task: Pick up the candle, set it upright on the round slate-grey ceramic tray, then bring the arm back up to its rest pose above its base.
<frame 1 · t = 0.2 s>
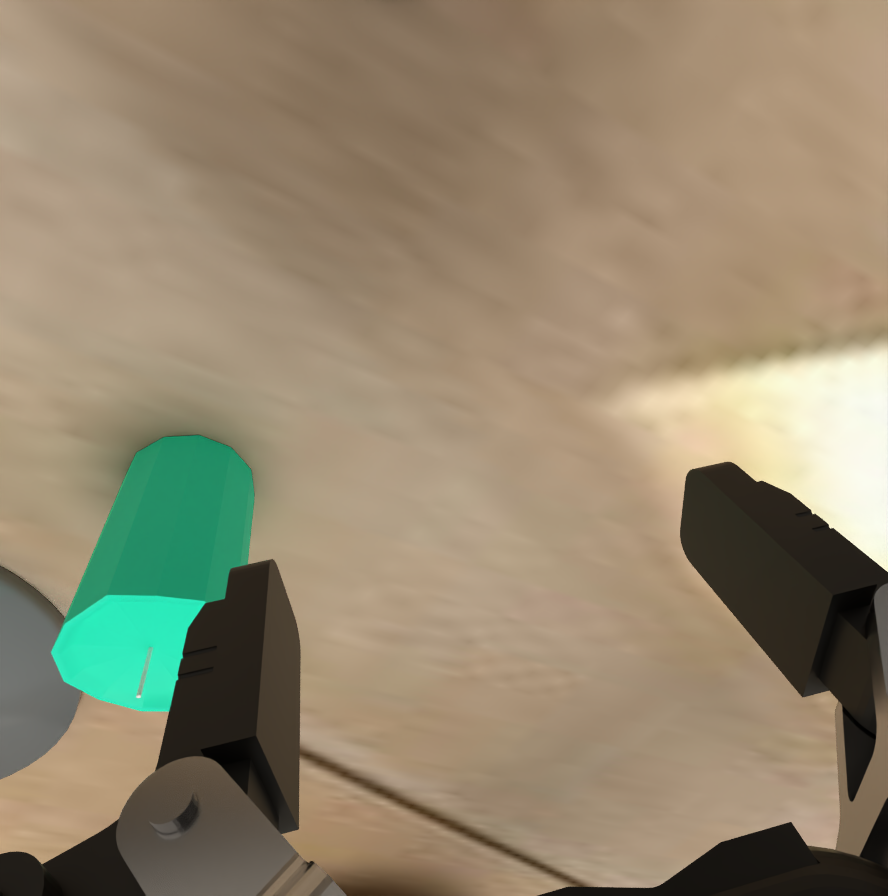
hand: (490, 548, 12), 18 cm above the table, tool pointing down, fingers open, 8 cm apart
candle: (192, 484, 30), on the table
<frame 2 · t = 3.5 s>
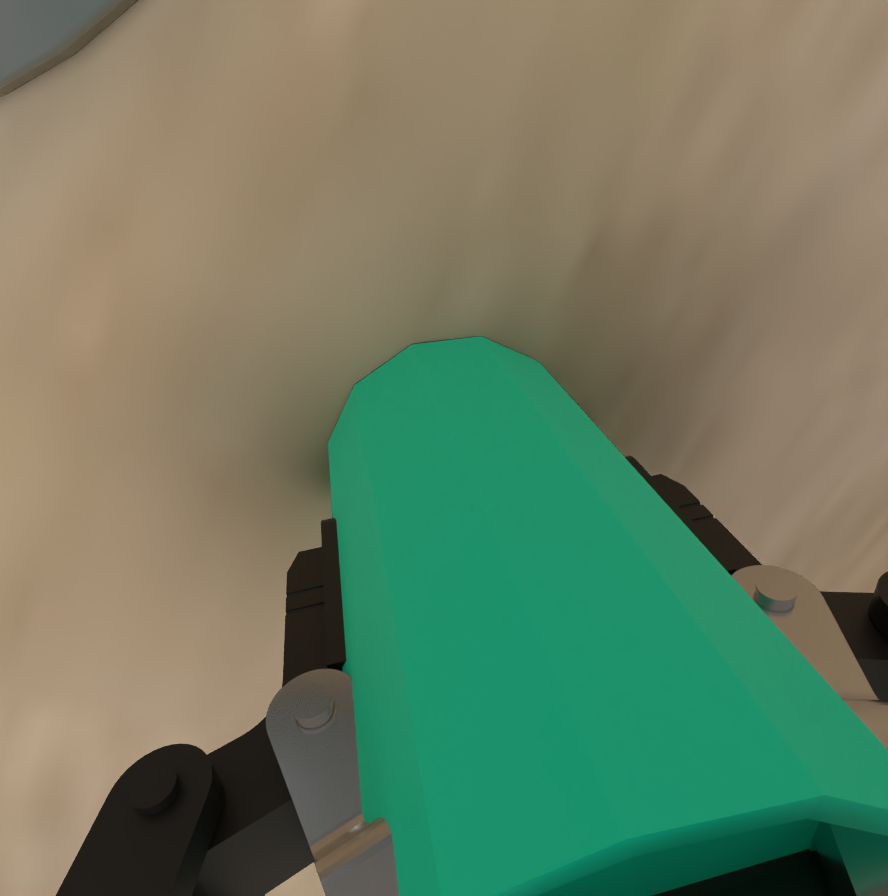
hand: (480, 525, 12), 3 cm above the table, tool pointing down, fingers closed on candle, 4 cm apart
candle: (451, 449, 15), on the table, touching gripper
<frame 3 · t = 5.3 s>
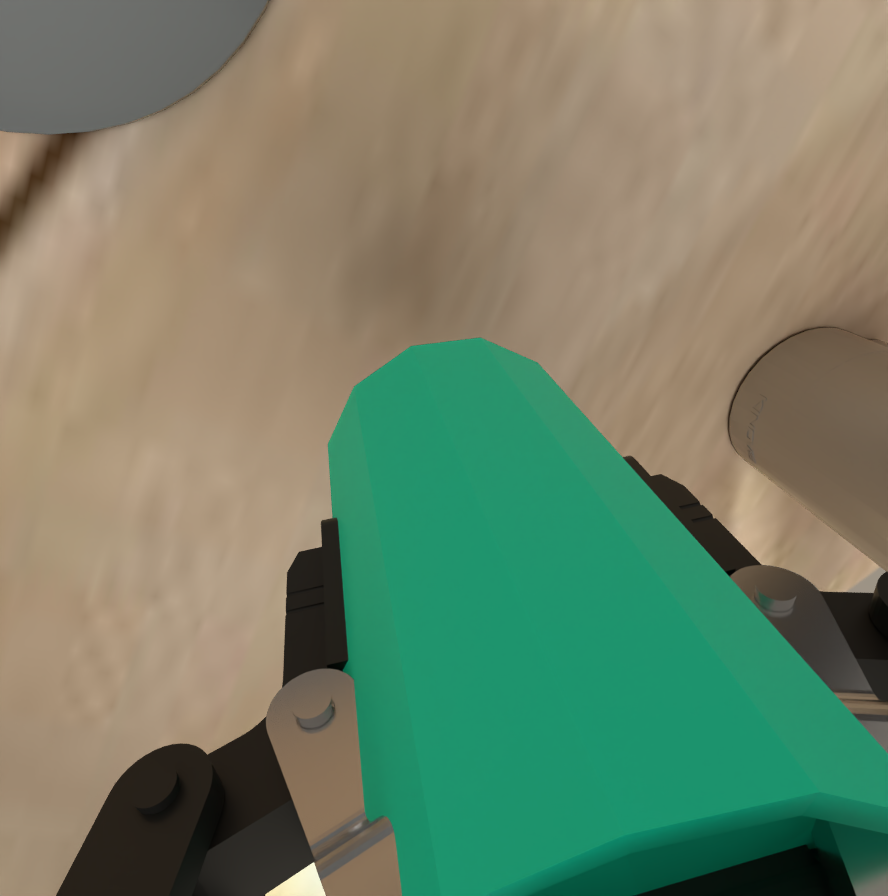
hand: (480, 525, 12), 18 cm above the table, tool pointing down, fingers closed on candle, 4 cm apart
candle: (450, 450, 15), point 15 cm above the table, touching gripper
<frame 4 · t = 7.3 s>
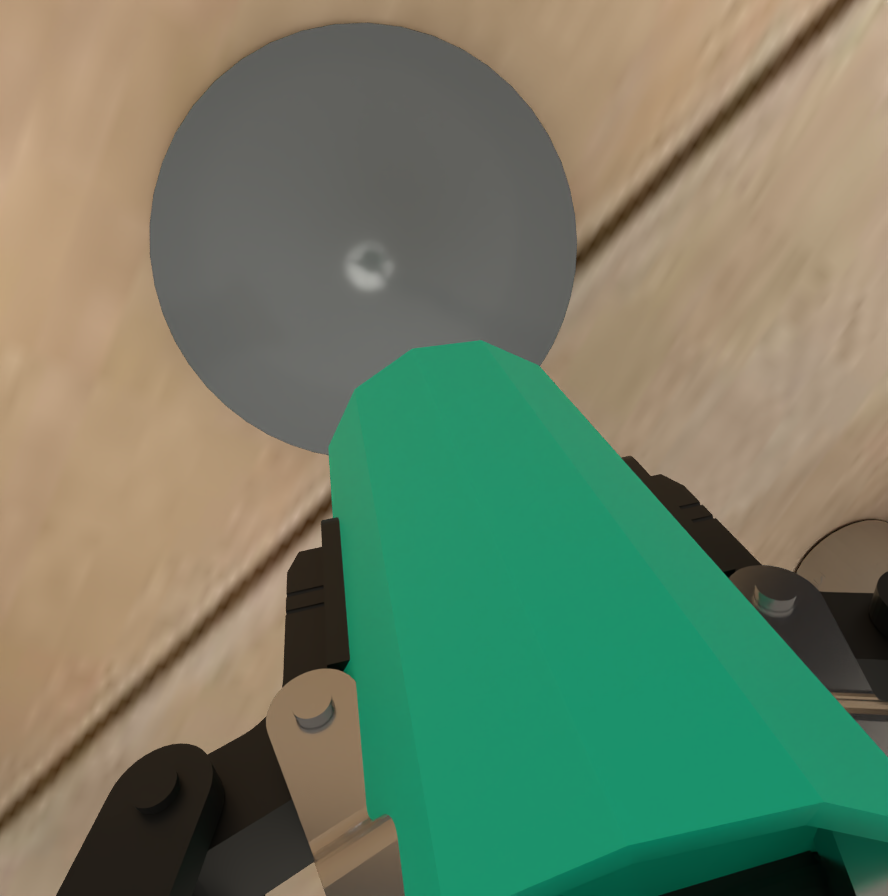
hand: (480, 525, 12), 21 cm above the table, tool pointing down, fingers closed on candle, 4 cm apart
candle tray: (375, 271, 30), on the table
candle: (451, 453, 15), point 18 cm above the table, touching gripper
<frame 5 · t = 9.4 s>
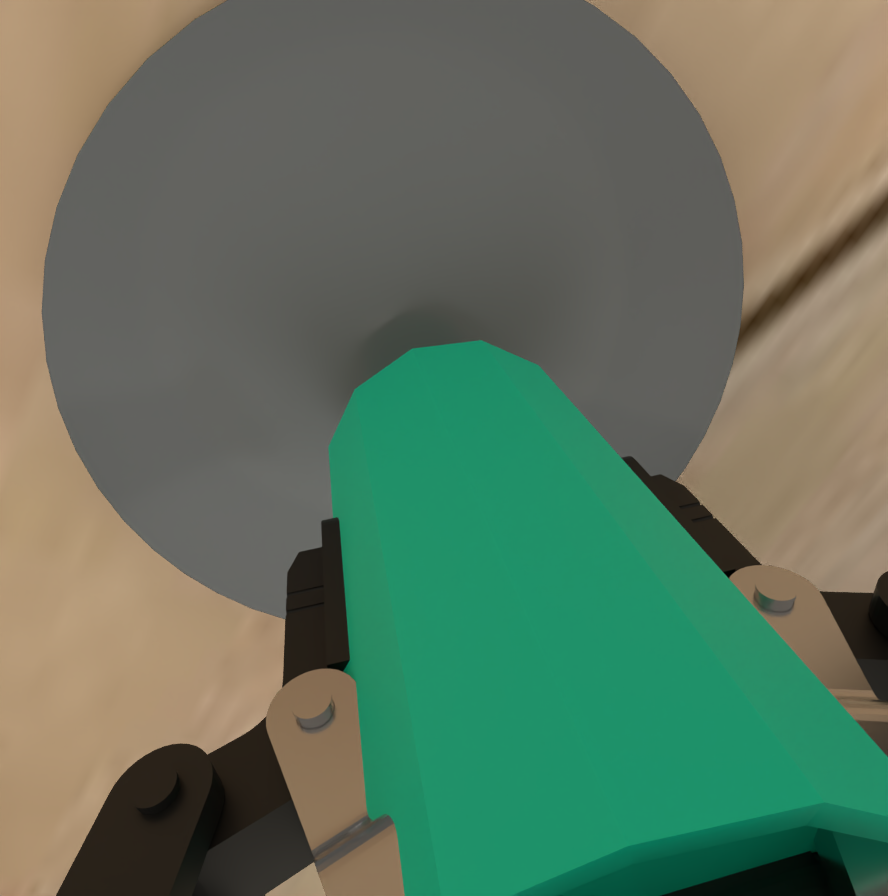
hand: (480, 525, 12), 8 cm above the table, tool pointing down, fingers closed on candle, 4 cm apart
candle tray: (421, 368, 19), on the table
candle: (451, 453, 15), point 5 cm above the table, touching gripper
when the fingers open (5 cm above the table, at t = 10.9 s): candle stays where it is, resting on candle tray.
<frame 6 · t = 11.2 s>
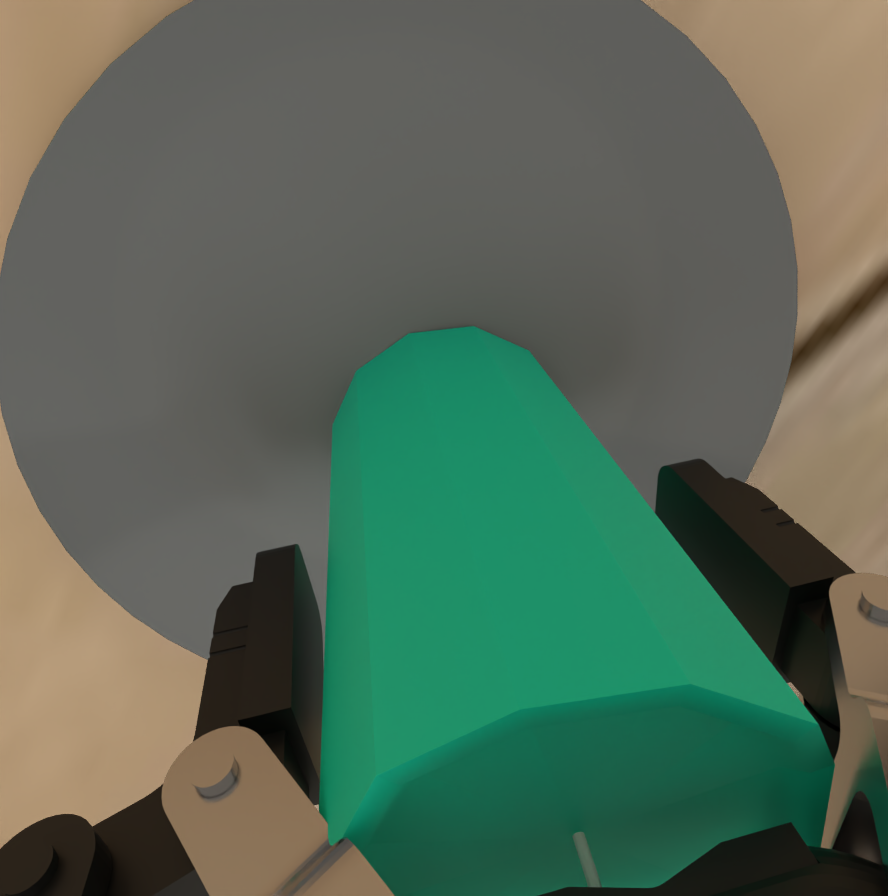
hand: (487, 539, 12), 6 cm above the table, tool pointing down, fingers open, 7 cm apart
candle tray: (433, 410, 17), on the table
candle: (448, 433, 16), point 1 cm above the table, touching candle tray
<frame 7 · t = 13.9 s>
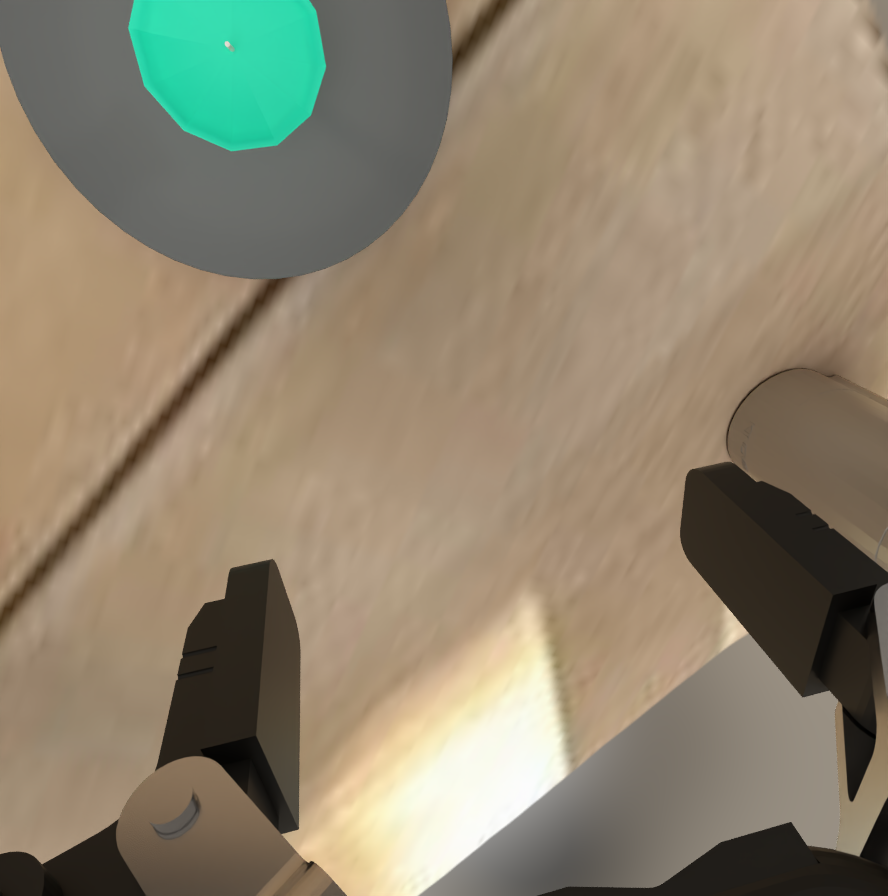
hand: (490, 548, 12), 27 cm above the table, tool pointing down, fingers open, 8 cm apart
candle tray: (244, 63, 29), on the table
candle: (248, 65, 28), point 1 cm above the table, touching candle tray
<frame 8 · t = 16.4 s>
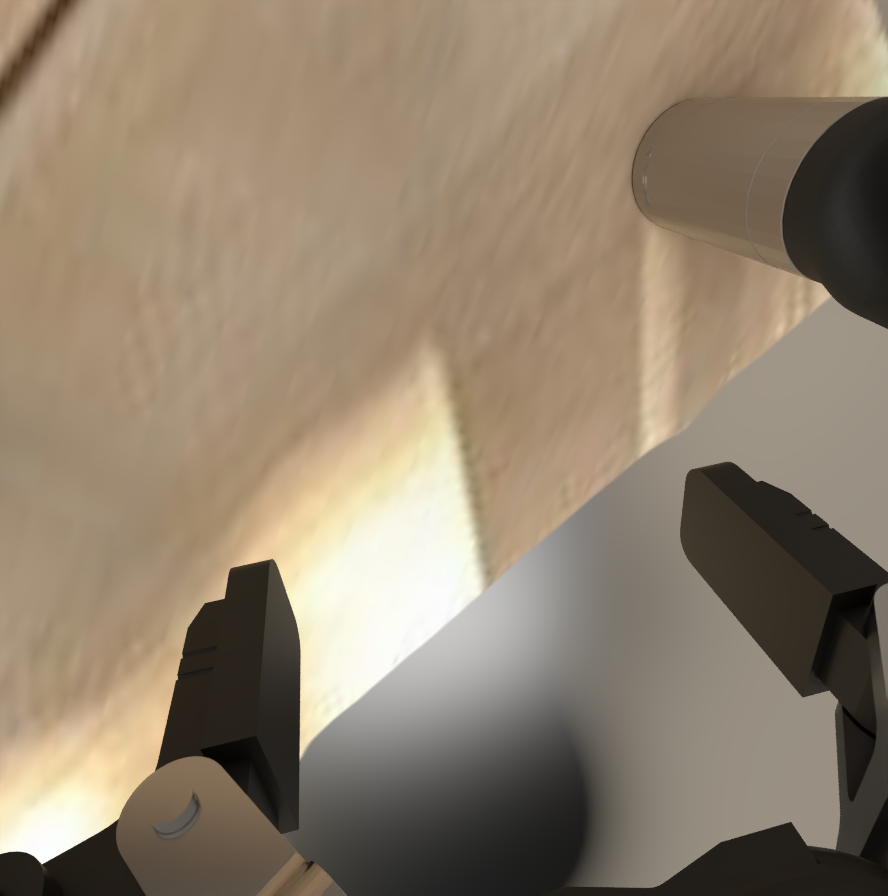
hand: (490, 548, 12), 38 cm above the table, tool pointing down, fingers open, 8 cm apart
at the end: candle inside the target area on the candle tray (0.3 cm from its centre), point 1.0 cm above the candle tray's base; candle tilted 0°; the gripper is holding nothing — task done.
